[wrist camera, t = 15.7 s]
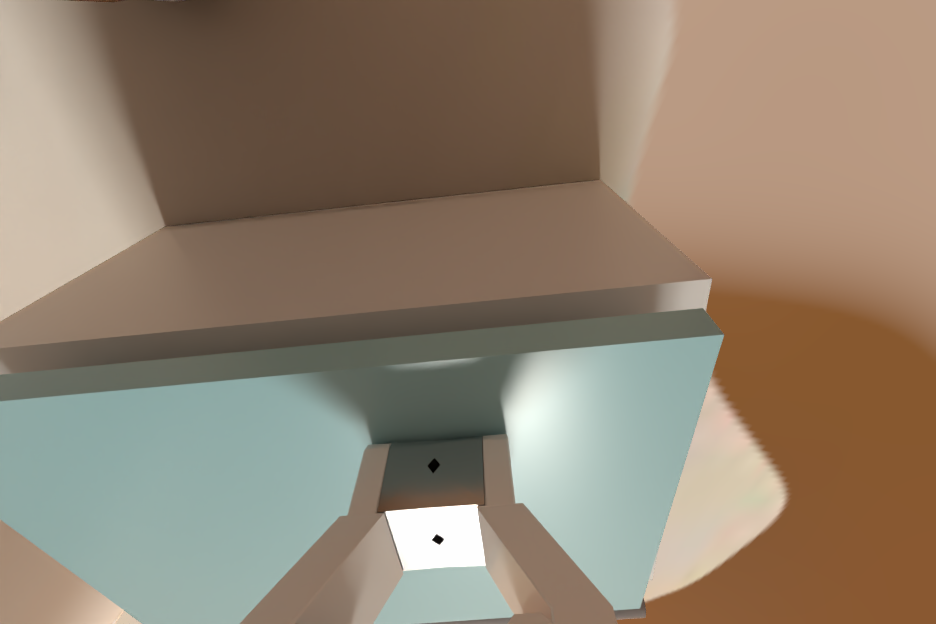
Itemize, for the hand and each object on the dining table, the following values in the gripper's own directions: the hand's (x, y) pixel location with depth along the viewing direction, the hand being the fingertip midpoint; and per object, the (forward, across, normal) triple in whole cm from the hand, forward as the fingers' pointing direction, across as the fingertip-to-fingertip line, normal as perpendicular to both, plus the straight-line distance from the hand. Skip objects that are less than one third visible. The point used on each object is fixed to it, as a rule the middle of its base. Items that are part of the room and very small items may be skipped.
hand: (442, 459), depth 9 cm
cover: (+1, +3, +3) cm, 5 cm away
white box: (+11, +3, +3) cm, 12 cm away
